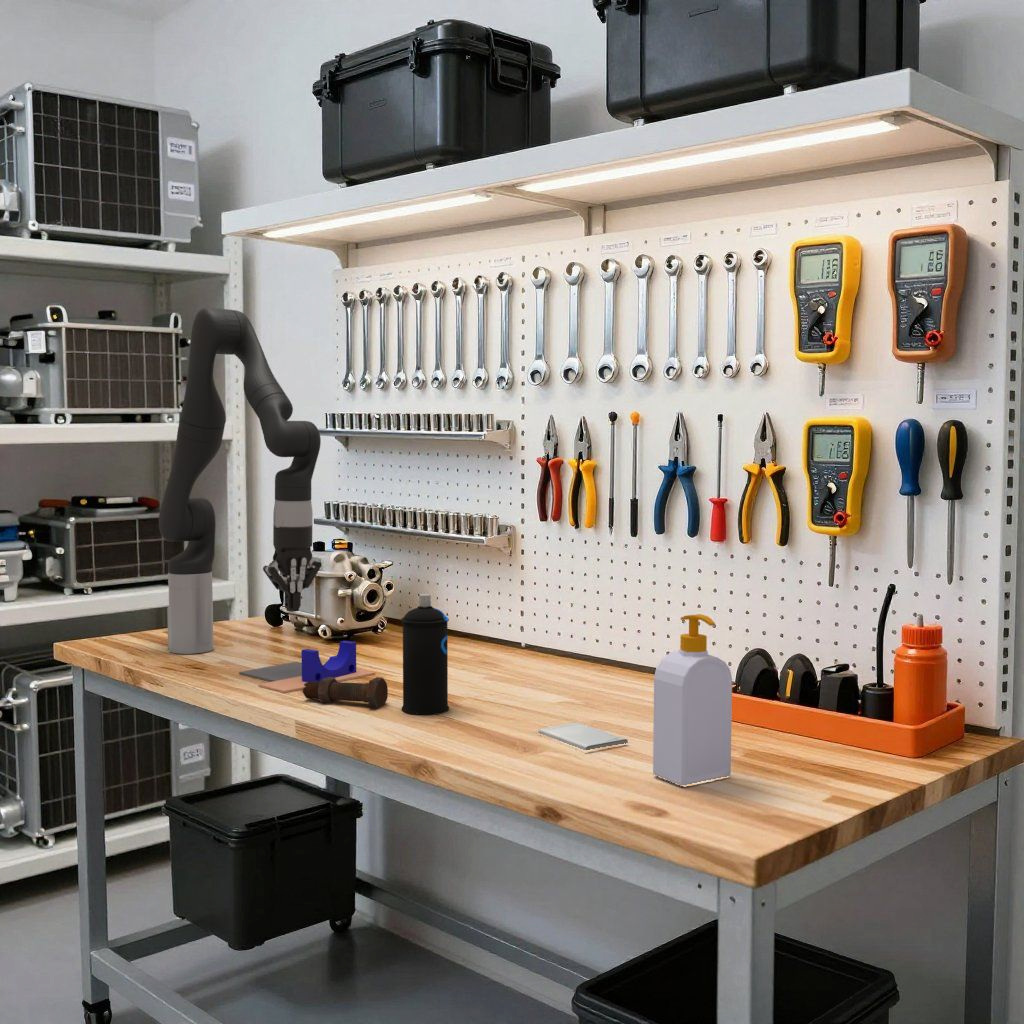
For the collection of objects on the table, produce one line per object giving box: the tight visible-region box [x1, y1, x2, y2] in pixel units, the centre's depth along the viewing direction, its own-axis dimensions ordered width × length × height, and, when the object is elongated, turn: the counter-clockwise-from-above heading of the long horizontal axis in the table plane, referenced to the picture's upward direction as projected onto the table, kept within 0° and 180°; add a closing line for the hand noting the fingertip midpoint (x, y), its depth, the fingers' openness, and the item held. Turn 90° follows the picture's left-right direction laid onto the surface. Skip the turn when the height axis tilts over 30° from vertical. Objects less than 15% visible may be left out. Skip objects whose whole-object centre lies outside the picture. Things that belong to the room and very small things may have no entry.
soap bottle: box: [652, 613, 733, 785], centre depth 159 cm, size 9×7×23 cm
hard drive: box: [537, 722, 629, 750], centre depth 179 cm, size 2×8×12 cm
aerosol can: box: [400, 593, 450, 716], centre depth 198 cm, size 8×8×20 cm
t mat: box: [238, 661, 376, 694], centre depth 225 cm, size 20×22×1 cm
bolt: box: [302, 676, 389, 710], centre depth 203 cm, size 6×5×15 cm
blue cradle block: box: [301, 640, 357, 682], centre depth 223 cm, size 12×4×6 cm, turn 145°
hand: (292, 610), depth 226 cm, fingers closed
